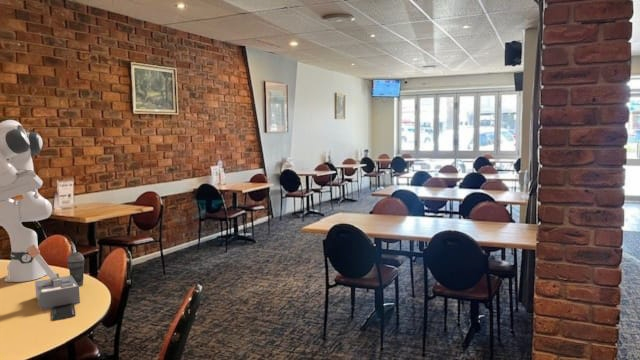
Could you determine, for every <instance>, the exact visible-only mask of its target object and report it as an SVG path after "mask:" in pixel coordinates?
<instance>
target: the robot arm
mask: <svg viewBox="0 0 640 360" xmlns="http://www.w3.org/2000/svg"><path fill="white" fill-rule="evenodd" d="M43 145H44V144H43V139H42V137H41V135H40V134H39V133H38V132H34V131H29V132H27V130H26V129H25V127H23V125H22V124H21V123H20V122H19V121H18V120H14V119H7V120H3V121H1V122H0V227H2V228H4V229H5V231H6V232H7V234H8V237H9V241H10V248H11V251H10V259H11V261H9V263H8V264H7V268H6V269H7V276H6V277H5V279H3V280H4V282H7V283H8V282H11V283H22V282H29V281H35V280H38V279H41V278H43V277H46V276H48V274H47V273H46V272H45V271H44V269H43V268H42V267H41V266H40V264H39V263H38V262H37V261H36V259H35V258H34V257H33V258H32V257H31V256H30V255H29V253H28V252H27V248H29V247H31V246H32V245H35V246H36V247H37V249H38V250H39V252H40V253H41V251H40V248H39V245H38V244H39V243H38V233H37V232H36V231H35V230H34V229H31V228H28V227H25V226H24V225H23V224H22V223H23V222H25V223H26V222H37V221H43V220H46V219H48V218H49V217H50V216H51V215H52V212H53V206H52V203H51V202H50V201H49V200H48V199H47V198H46V197H43V196H42V195H41V194H40V192H39V190H38V189H41V188H42V186H43V183H44V181H43V180H42V179H41V178H40V177H39V176H38V174H36V172H35V168H34V162H33V158H34V157H36V155H38V154H39V153H40V152H41V151H42V147H43ZM32 157H33V158H32ZM17 196H22V198H21V199H13V198H15V197H17Z"/></svg>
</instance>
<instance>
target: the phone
mask: <svg viewBox="0 0 640 360" xmlns="http://www.w3.org/2000/svg"><path fill="white" fill-rule="evenodd" d="M76 316H77V315H76V309H75V304H73V303H72V304H66V305H60V306H54V307H52V309H51V320H52V321H59V320H65V319H71V318H75V317H76Z"/></svg>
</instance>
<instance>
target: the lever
mask: <svg viewBox="0 0 640 360" xmlns="http://www.w3.org/2000/svg"><path fill="white" fill-rule="evenodd" d="M39 251H40V249H39V250H38V249H37V247H36V246H35V245H32V246H31V247H29V248H27V252H28V253H29V255H30V256H31V257H32V258H33V257H34V258H35V259H36V261H37V262H38V263H39V264H40V266H41V267H42V268H43V269H44V271H45V272H46V273H47V274H48V275H47V276H48V277H49V279H51V280H52V281H53V280H56V279H58V277H57V276H56V275H55V274H56V272H54V271H53V269H52V268H51V267H50V266H49V264H48V263H47V262H46V260H45V259H44V258H43V256H42V255H41V251H40V252H39Z"/></svg>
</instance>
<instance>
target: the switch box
mask: <svg viewBox="0 0 640 360" xmlns="http://www.w3.org/2000/svg"><path fill="white" fill-rule="evenodd" d="M55 275H56V276H57V277H58V279H56V280H53V281H52V280H51V278H48V279H43V280H42V279H41V280H38V281H37V280H36V281H35V280H34V281H35V282H34V283H35V284H34V285H35V286H34V287H35V295H36V296H35V297H36V300H37V303H38V307H39V309H40V311H46V310H52V307H54V306H60V305H66V304H72V303H73V304H74V305H75V304H80V303H81V297H80V286H78V284H77V283H76V281H75V280H74V278H73V277H72V275H70V274H69V275H66V276H65V275H64V276H61V277H60V273H56V272H55Z"/></svg>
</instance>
